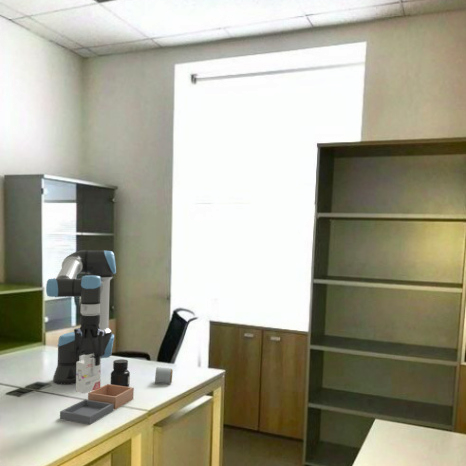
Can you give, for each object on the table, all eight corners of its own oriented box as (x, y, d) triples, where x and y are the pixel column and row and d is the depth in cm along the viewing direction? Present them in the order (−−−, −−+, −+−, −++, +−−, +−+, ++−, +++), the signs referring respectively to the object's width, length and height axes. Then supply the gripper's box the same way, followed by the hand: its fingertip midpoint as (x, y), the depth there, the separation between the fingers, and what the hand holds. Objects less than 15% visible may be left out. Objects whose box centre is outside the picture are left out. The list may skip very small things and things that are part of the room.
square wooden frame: (87, 405, 190) (88, 393, 190) (107, 395, 202) (107, 383, 203) (115, 409, 185) (115, 397, 185) (133, 399, 198) (133, 387, 198)
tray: (59, 419, 174) (60, 411, 174) (84, 406, 188) (85, 399, 188) (89, 424, 169) (90, 416, 169) (113, 411, 183) (113, 403, 184)
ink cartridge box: (92, 386, 184) (93, 349, 184) (100, 388, 181) (101, 351, 182) (74, 391, 177) (76, 353, 177) (83, 394, 174) (84, 355, 174)
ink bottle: (133, 386, 216) (134, 361, 216) (117, 390, 209) (118, 364, 209) (122, 382, 222) (122, 357, 223) (106, 385, 216) (107, 360, 216)
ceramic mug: (171, 385, 219) (172, 369, 219) (154, 385, 218) (155, 369, 218) (172, 379, 229) (173, 364, 230) (156, 379, 228) (156, 364, 229)
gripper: (64, 313, 180) (62, 372, 179) (104, 317, 173) (102, 377, 172) (77, 311, 187) (75, 367, 186) (115, 314, 180) (113, 372, 180)
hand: (88, 372), depth 179 cm, fingers closed on ink cartridge box, 6 cm apart
